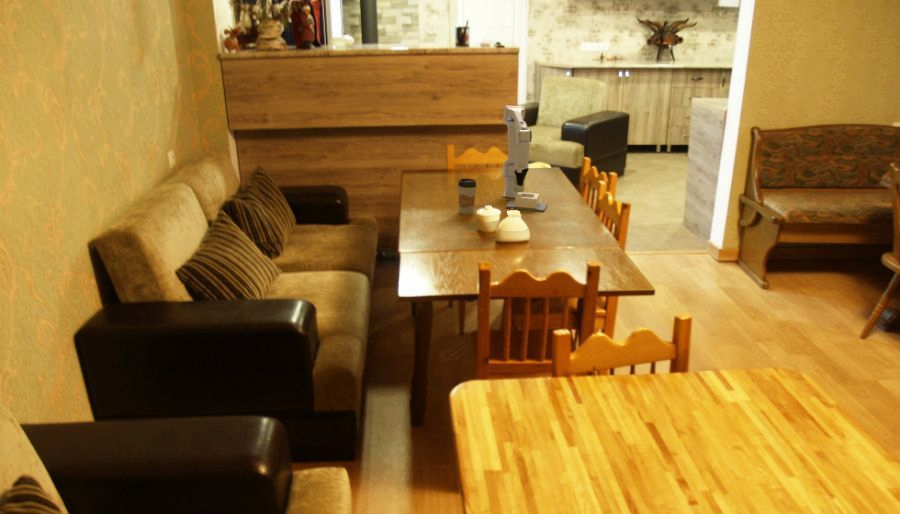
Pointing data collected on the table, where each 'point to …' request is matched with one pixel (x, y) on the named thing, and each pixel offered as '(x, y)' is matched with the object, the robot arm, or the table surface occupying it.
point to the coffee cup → (466, 195)
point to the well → (527, 202)
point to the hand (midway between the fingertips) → (520, 184)
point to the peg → (518, 188)
